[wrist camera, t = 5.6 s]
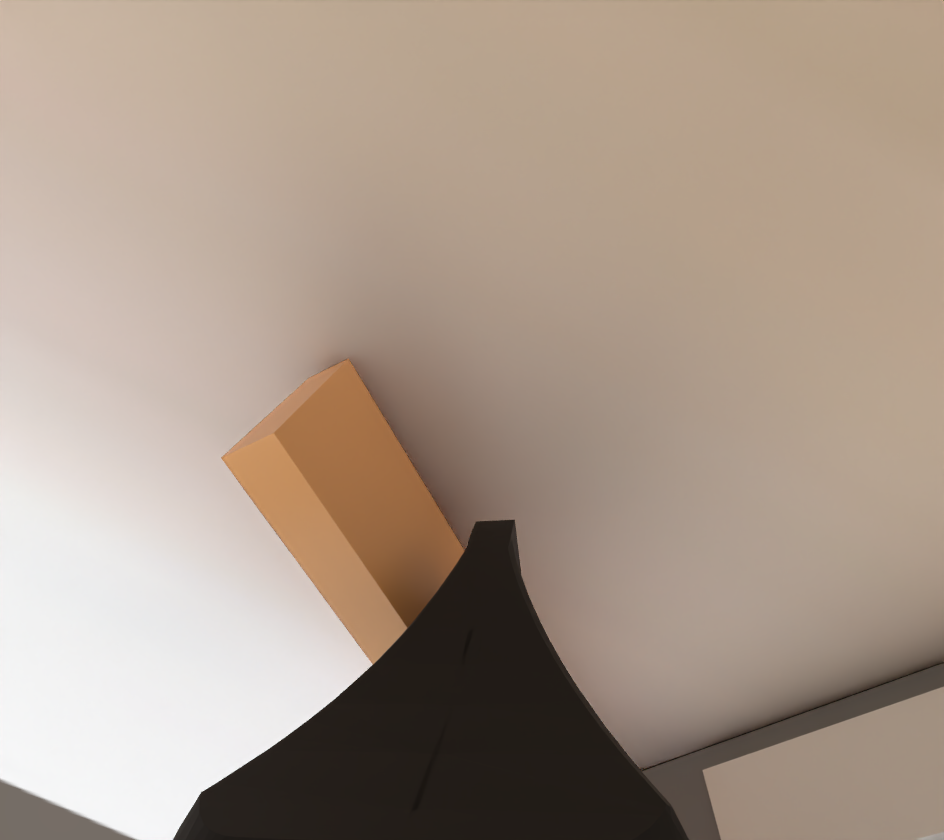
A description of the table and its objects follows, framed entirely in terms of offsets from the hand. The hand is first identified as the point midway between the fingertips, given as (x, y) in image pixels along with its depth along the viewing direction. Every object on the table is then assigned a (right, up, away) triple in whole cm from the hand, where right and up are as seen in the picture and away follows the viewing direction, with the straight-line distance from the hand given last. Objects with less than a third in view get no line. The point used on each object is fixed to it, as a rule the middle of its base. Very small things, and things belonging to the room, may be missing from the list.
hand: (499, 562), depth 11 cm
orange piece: (-1, -2, +3) cm, 3 cm away
